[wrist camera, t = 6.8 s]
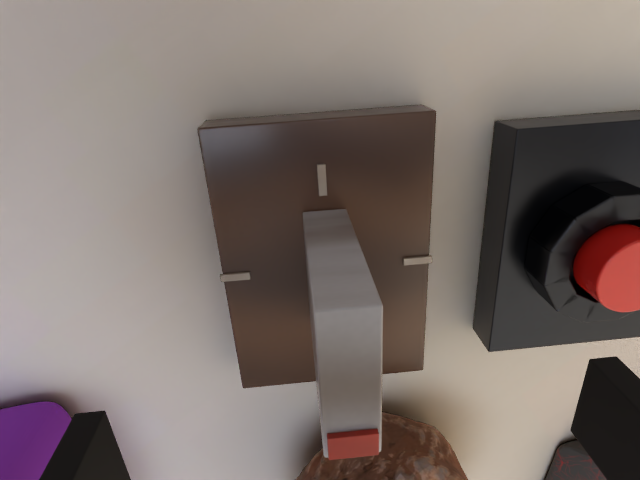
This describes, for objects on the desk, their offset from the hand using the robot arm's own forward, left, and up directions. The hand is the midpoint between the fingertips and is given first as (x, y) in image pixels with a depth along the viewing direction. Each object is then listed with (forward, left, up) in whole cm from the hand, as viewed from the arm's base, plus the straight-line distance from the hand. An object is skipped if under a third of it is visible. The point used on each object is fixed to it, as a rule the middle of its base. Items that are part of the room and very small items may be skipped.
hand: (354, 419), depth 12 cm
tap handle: (0, 0, -10) cm, 9 cm away
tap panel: (0, 0, -12) cm, 12 cm away
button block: (0, +13, -12) cm, 17 cm away
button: (0, +13, -8) cm, 15 cm away
